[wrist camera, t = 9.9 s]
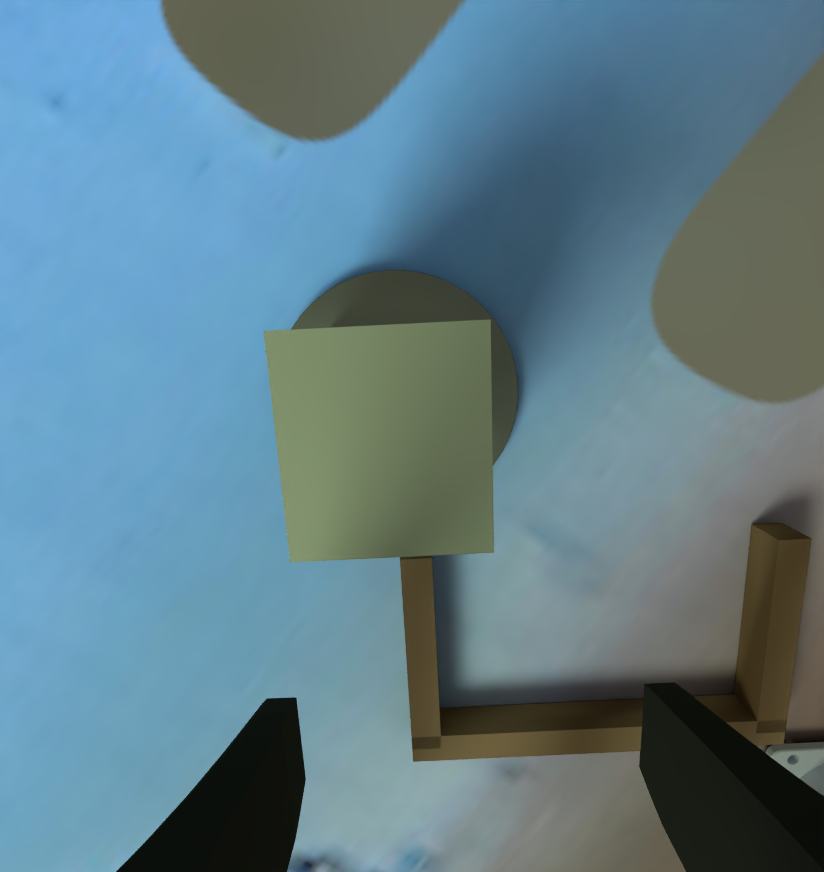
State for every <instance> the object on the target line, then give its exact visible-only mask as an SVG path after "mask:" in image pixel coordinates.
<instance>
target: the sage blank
mask: <svg viewBox="0 0 824 872" xmlns="http://www.w3.org/2000/svg"><path fill="white" fill-rule="evenodd" d="M264 337H265V346H266V355H267V364H268V372H269V381H270V390H271V399H272V407H273V416H274V425H275V433H276V442H277V451H278V460H279V468H280V477H281V486H282V495H283V503H284V512H285V521H286V529H287V538H288V547H289V556H290V562H305V561H326V560H347V559H368V558H389V557H411V556H432V555H453V554H474V553H494V525H493V455H492V385H491V319H489V320H470V321H450V322H431V323H412V324H392V325H373V326H353V327H334V328H315V329H295V330H276V331H264Z"/></svg>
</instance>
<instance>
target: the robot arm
mask: <svg viewBox="0 0 824 872" xmlns="http://www.w3.org/2000/svg"><path fill="white" fill-rule="evenodd" d="M639 767H640V770H641V772H642V775H643V777H644V780H645V783H646V785H647V788H648V790H649V793H650V796H651V798H652V801H653V803H654V806H655V808H656V810H657V813H658V815H659V818H660V820H661V823H662V825H663V827H664V829H665V831H666V833H667V835H668V837H669V839H670V841H671V843H672V845H673V847H674V849H675V851H676V853H677V854H678V856H679V858H680V860H681V862H682V864H683V866H684V868H685V870H686V872H824V742H811V743H790V744H776V745H772V746H770V747H769V748H768V749H767V750H766V753H765V752H763V751H762V750H761V749H759V748H758V747H757V746H756V745H754V744H753V743H752V742H750V741H749V740H748V739H746V738H745V737H744V736H743V735H741V734H740V733H739V732H738V731H736V730H735V729H734V728H732V727H731V726H730V725H729V724H727V723H726V722H725V721H723V720H722V719H721V718H720V717H718V716H717V715H716V714H715V713H713V712H712V711H711V710H710V709H708V708H707V707H706V706H704V705H703V704H702V703H701V702H699V701H698V700H697V699H695V698H694V697H693V696H692V695H690V694H689V693H688V692H686V691H685V690H684V689H682V688H681V687H680V686H678V685H677V684H676V683H654V684H645V687H644V702H643V718H642V733H641V749H640V765H639ZM305 780H306V778H305V769H304V761H303V752H302V744H301V735H300V726H299V718H298V709H297V700H296V698H271V699H266V700H265V701H264V702H263V703H262V705H261V706H260V707H259V708H258V710H257V711H256V712H255V713H254V715H253V716H252V717H251V719H250V720H249V721H248V722H247V724H246V725H245V726H244V728H243V729H242V730H241V731H240V733H239V734H238V735H237V736H236V738H235V739H234V740H233V741H232V743H231V744H230V745H229V746H228V748H227V749H226V750H225V751H224V753H223V754H222V755H221V756H220V757H219V759H218V760H217V761H216V762H215V763H214V765H213V766H212V767H211V768H210V769H209V771H208V772H207V773H206V774H205V775H204V777H203V778H202V779H201V780H200V781H199V783H198V784H197V785H196V786H195V787H194V788H193V790H192V791H191V792H190V793H189V794H188V795H187V797H186V798H185V799H184V800H183V801H182V802H181V803H180V804H179V805H178V807H177V808H176V809H175V810H174V811H173V812H172V813H171V814H170V815H169V816H168V818H167V819H166V820H165V821H164V822H163V823H162V824H161V825H160V826H159V827H158V829H157V830H156V831H155V832H154V833H153V834H152V835H151V836H150V837H149V838H148V840H147V841H146V842H145V843H144V844H143V845H142V846H141V847H140V848H139V849H138V850H137V851H136V852H135V853H134V854H133V855H132V856H131V857H130V858H129V859H128V860H127V861H126V862H125V863H124V864H123V865H122V866H121V867H120V868H119V869H118V870H117V871H116V872H287V869H288V865H289V861H290V858H291V854H292V850H293V846H294V842H295V838H296V833H297V828H298V822H299V816H300V811H301V804H302V798H303V792H304V786H305Z"/></svg>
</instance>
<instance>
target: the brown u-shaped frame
mask: <svg viewBox="0 0 824 872" xmlns="http://www.w3.org/2000/svg"><path fill="white" fill-rule="evenodd" d="M810 546H811V538H809V537H807V536H806V535H804V534H802V533H800V532H798V531H796V530H794V529H792V528H790V527H789V526H787V525H785V524H783V523H769V524H752V528H751V537H750V546H749V556H748V565H747V575H746V584H745V594H744V603H743V613H742V622H741V631H740V641H739V650H738V660H737V669H736V679H735V688H734V694H727V695H706V696H693V697H694V698H695V699H697V700H698V701H699V702H701V703H702V704H703V705H704V706H706V707H707V708H708V709H710V710H711V711H712V712H713V713H715V714H716V715H717V716H718V717H720V718H721V719H722V720H723V721H725V722H726V723H727V724H729V725H730V726H731V727H732V728H734V729H735V730H736V731H738V732H739V733H740V734H741V735H743V736H744V737H745V738H746V739H748V740H749V741H750V742H752V743H753V744H754V745H776V744H784V738H785V730H786V723H787V715H788V708H789V701H790V693H791V686H792V679H793V671H794V664H795V656H796V649H797V642H798V634H799V627H800V620H801V612H802V605H803V597H804V590H805V583H806V575H807V568H808V561H809V553H810ZM400 566H401V581H402V596H403V612H404V627H405V642H406V657H407V673H408V688H409V703H410V718H411V734H412V749H413V762H415V761H436V760H458V759H479V758H500V757H521V756H542V755H564V754H585V753H606V752H627V751H640V749H641V733H642V718H643V702H644V699H623V700H602V701H581V702H561V703H540V704H519V705H498V706H478V707H457V708H439V690H438V670H437V650H436V630H435V610H434V590H433V570H432V556H411V557H400Z"/></svg>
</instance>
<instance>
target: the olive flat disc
mask: <svg viewBox="0 0 824 872" xmlns="http://www.w3.org/2000/svg"><path fill="white" fill-rule="evenodd" d="M489 319H491V385H492V455H493V465H494V464H495V462H496V460H497V459H498V457H499V456H500V454H501V453H502V451H503V449H504V447H505V445H506V443H507V441H508V439H509V437H510V434H511V431H512V428H513V425H514V421H515V416H516V411H517V402H518V383H517V373H516V368H515V363H514V359H513V356H512V353H511V351H510V348H509V345H508V343H507V341H506V339H505V337H504V335H503V333H502V331H501V329H500V328H499V326H498V325H497V323H496V322H495V321H494V319H493V318H492V316H491V315H490V314H489V313H488V312H487V311H486V310H485V309H484V308H483V306H482V305H481V304H480V303H478V302H477V301H476V300H475V299H474V298H472V297H471V296H470V295H469V294H468V293H466V292H464V291H463V290H461V289H460V288H458V287H456V286H455V285H453V284H451V283H449V282H447V281H444V280H442V279H440V278H437V277H434V276H431V275H427V274H424V273H419V272H412V271H406V270H386V271H379V272H371V273H368V274H364V275H360V276H356V277H354V278H351V279H349V280H347V281H344V282H342V283H340V284H338V285H336V286H335V287H333V288H331V289H330V290H328V291H326V292H325V293H324V294H323V295H321V296H320V297H319V298H318V299H316V300H315V301H314V302H313V303H312V304H311V305H310V306H309V307H308V308H307V309H306V310H305V311H304V312H303V313H302V314H301V316H300V317H299V319H298V320H297V321H296V323H295V324H294V326H293V327H292V329H291V330H295V329H315V328H334V327H353V326H373V325H392V324H412V323H431V322H450V321H470V320H489Z"/></svg>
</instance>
